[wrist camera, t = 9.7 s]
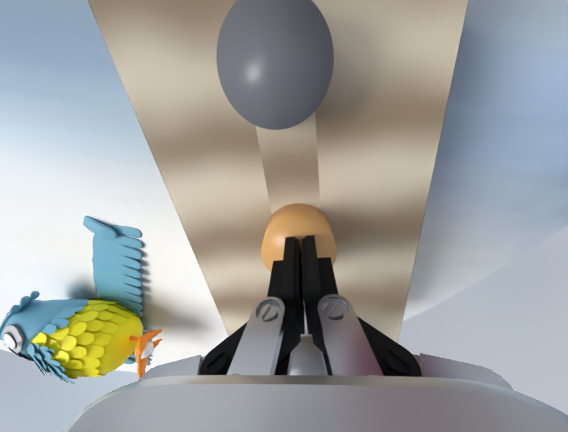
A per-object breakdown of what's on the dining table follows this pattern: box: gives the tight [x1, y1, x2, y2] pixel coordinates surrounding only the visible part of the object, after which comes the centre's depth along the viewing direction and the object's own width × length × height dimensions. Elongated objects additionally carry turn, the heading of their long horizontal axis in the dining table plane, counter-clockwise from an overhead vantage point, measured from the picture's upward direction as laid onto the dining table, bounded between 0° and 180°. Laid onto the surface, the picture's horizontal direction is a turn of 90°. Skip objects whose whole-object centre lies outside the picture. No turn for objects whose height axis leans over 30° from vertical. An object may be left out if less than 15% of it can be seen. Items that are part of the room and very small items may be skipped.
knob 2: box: [290, 306, 327, 376], centre depth 16 cm, size 4×4×6 cm
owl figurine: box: [0, 216, 162, 384], centre depth 24 cm, size 28×9×15 cm
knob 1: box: [216, 0, 334, 130], centre depth 10 cm, size 4×4×6 cm
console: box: [88, 0, 468, 343], centre depth 16 cm, size 26×16×5 cm, turn 8°
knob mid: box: [261, 203, 337, 272], centre depth 14 cm, size 4×4×6 cm
